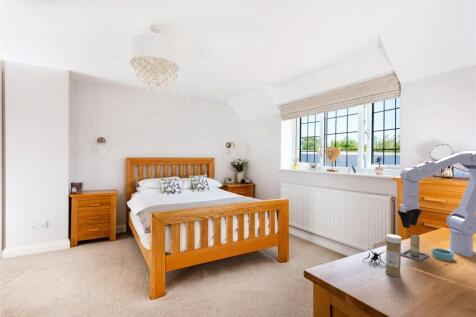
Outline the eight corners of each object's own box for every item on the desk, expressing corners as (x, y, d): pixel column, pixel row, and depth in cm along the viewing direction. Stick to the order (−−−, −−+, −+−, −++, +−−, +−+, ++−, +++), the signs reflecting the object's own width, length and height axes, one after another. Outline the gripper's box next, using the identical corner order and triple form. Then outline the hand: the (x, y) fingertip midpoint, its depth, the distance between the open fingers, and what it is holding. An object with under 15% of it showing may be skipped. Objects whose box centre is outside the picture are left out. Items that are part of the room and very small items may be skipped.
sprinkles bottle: (403, 274, 86) (404, 236, 86) (396, 278, 84) (397, 238, 84) (389, 269, 90) (390, 232, 90) (382, 272, 88) (383, 235, 87)
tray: (409, 251, 107) (409, 249, 107) (428, 257, 101) (428, 254, 101) (399, 256, 102) (400, 253, 102) (420, 262, 96) (420, 259, 96)
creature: (384, 273, 90) (388, 261, 96) (384, 259, 89) (387, 248, 95) (361, 266, 95) (365, 255, 101) (360, 254, 94) (365, 243, 100)
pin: (411, 253, 104) (412, 234, 103) (420, 256, 101) (420, 236, 101) (408, 255, 102) (409, 235, 102) (417, 257, 99) (418, 238, 99)
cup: (435, 253, 105) (435, 246, 105) (455, 259, 100) (455, 252, 100) (429, 257, 101) (429, 250, 101) (449, 263, 96) (450, 255, 96)
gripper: (407, 192, 116) (406, 221, 117) (393, 195, 108) (392, 226, 108) (425, 195, 110) (424, 225, 111) (411, 198, 102) (410, 231, 102)
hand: (409, 226), depth 109 cm, fingers open, 7 cm apart
